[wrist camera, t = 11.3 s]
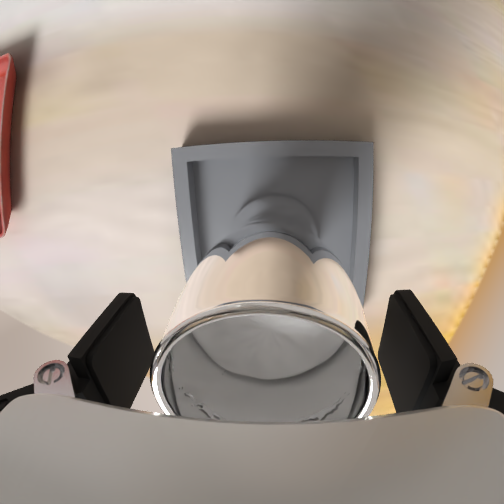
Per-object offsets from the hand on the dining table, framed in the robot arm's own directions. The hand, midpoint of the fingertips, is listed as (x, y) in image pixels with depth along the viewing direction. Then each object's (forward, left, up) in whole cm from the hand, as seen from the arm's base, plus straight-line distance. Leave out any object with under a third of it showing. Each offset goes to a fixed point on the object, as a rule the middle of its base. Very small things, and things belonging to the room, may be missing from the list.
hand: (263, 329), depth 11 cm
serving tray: (+1, 0, -12) cm, 12 cm away
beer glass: (0, 0, -12) cm, 12 cm away
